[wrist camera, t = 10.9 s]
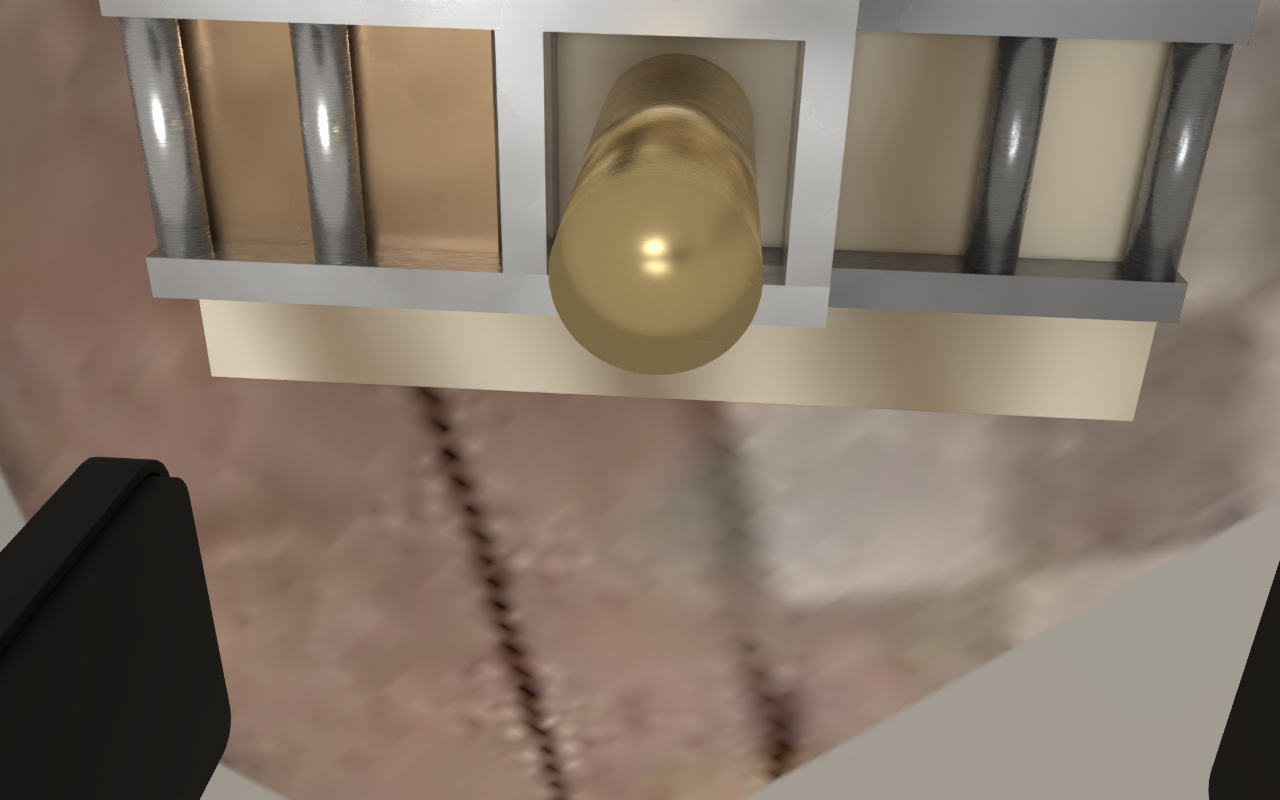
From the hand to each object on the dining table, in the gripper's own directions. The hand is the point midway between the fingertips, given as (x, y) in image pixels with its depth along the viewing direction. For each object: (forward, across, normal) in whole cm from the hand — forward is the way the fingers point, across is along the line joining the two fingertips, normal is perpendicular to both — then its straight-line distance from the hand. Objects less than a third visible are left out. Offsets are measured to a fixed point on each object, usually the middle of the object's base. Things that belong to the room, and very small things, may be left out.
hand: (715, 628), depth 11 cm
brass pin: (+20, +1, +1) cm, 20 cm away
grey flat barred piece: (+19, +5, +1) cm, 20 cm away
